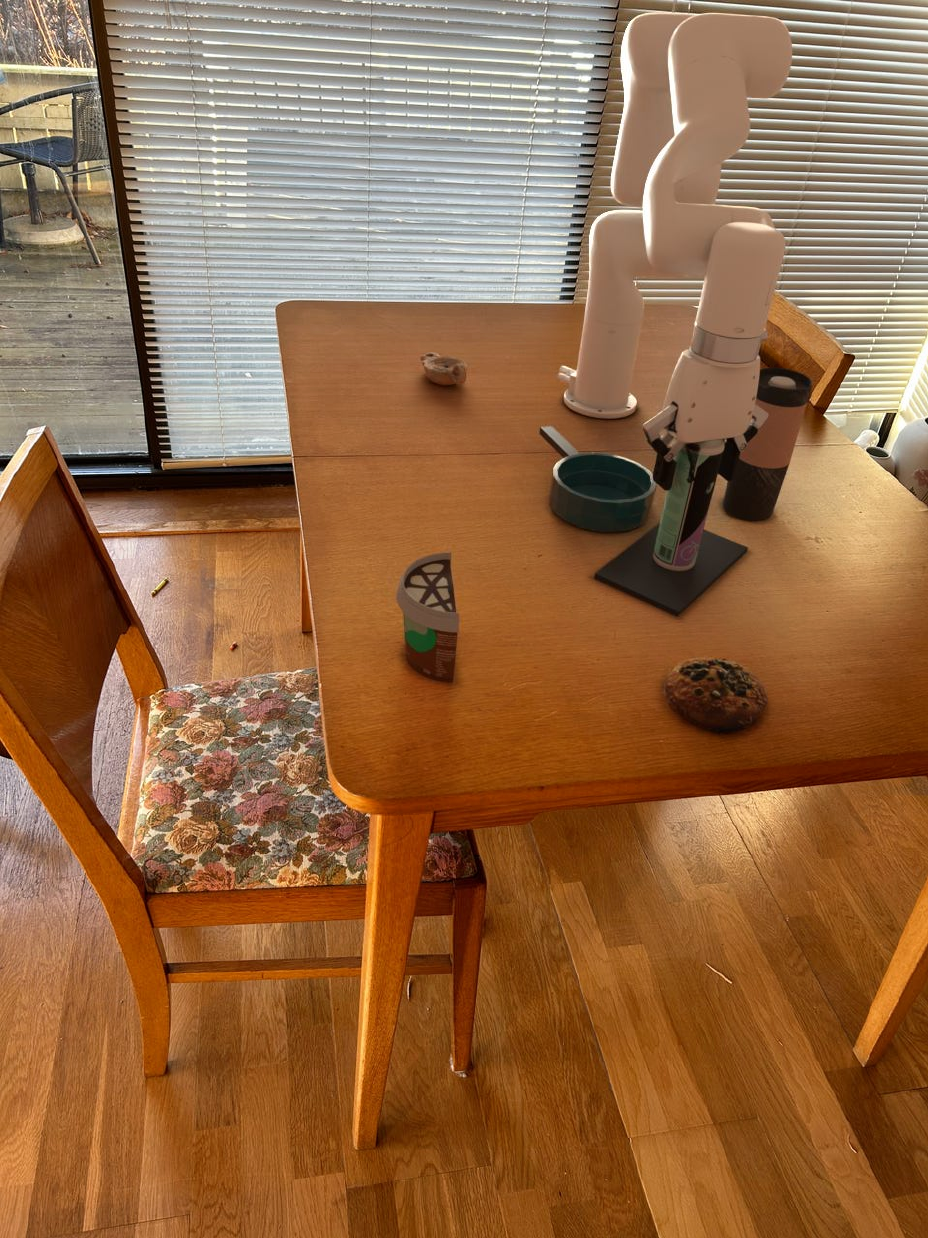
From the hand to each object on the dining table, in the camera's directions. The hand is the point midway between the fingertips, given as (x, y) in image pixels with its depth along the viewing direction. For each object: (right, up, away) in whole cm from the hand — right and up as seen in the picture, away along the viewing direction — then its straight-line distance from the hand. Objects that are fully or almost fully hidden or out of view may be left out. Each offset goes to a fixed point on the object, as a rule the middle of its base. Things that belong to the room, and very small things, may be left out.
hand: (692, 480), depth 114 cm
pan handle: (-13, +8, +26) cm, 30 cm away
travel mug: (+13, -1, +21) cm, 25 cm away
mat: (-1, -10, +7) cm, 12 cm away
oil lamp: (-32, +25, +51) cm, 65 cm away
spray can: (-1, -9, +7) cm, 12 cm away
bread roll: (-1, -26, -14) cm, 29 cm away
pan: (-9, -1, +18) cm, 20 cm away
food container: (-33, -21, -11) cm, 40 cm away
